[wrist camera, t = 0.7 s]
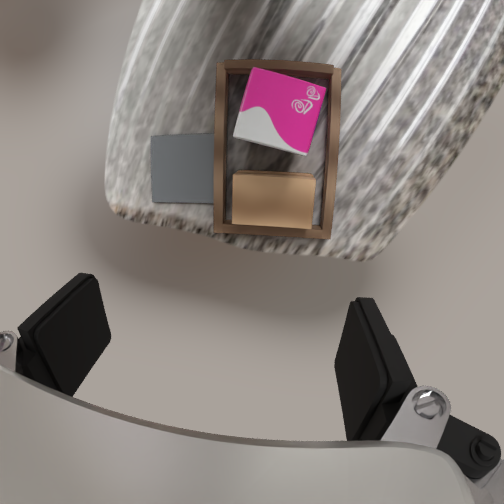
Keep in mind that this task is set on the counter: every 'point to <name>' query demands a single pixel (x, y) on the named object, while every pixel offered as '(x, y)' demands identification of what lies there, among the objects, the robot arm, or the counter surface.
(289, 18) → the counter surface
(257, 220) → the offcut upper
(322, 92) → the supplement box
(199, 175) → the mat
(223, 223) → the wooden frame tray
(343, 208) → the counter surface
